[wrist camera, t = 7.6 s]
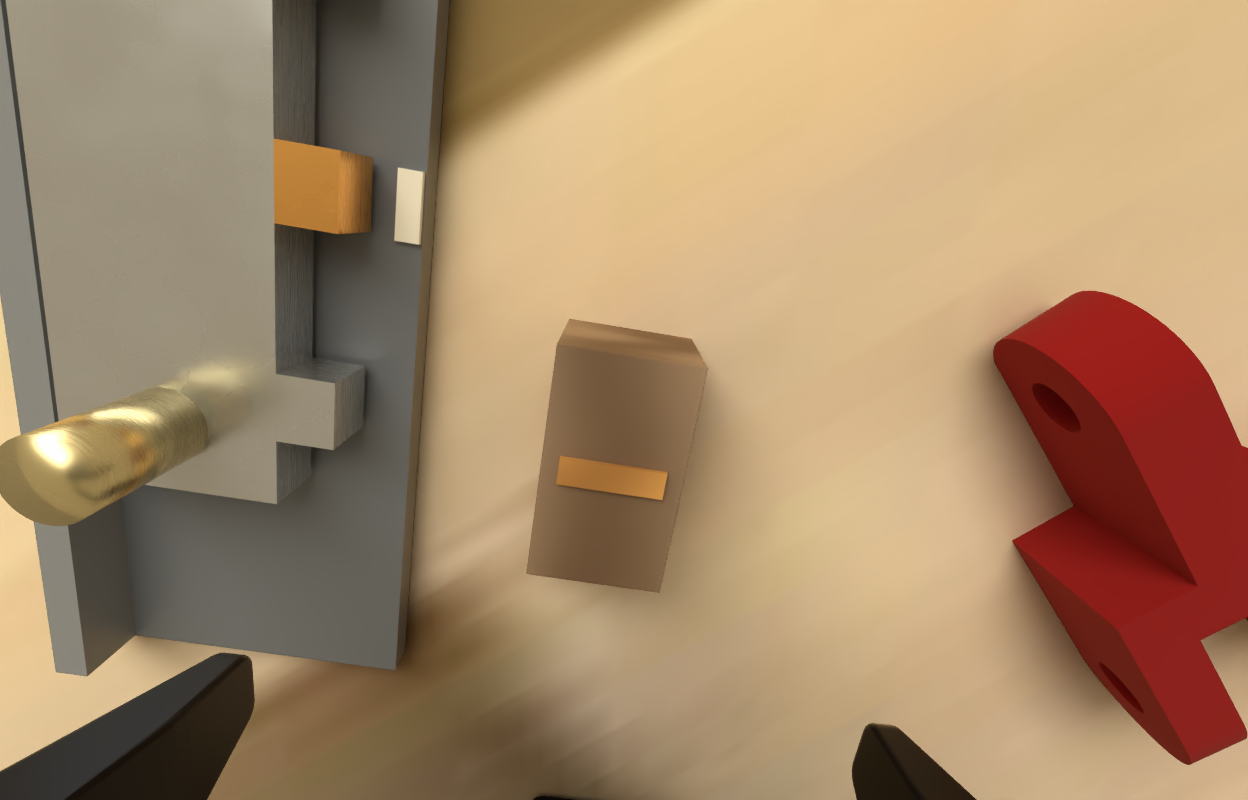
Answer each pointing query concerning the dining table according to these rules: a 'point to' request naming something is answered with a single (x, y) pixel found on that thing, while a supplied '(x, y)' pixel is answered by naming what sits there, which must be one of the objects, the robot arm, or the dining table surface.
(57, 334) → the toothed rack
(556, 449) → the marked link
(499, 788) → the dining table surface
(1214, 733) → the mechanical linkage
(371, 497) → the guide plate
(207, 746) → the robot arm
